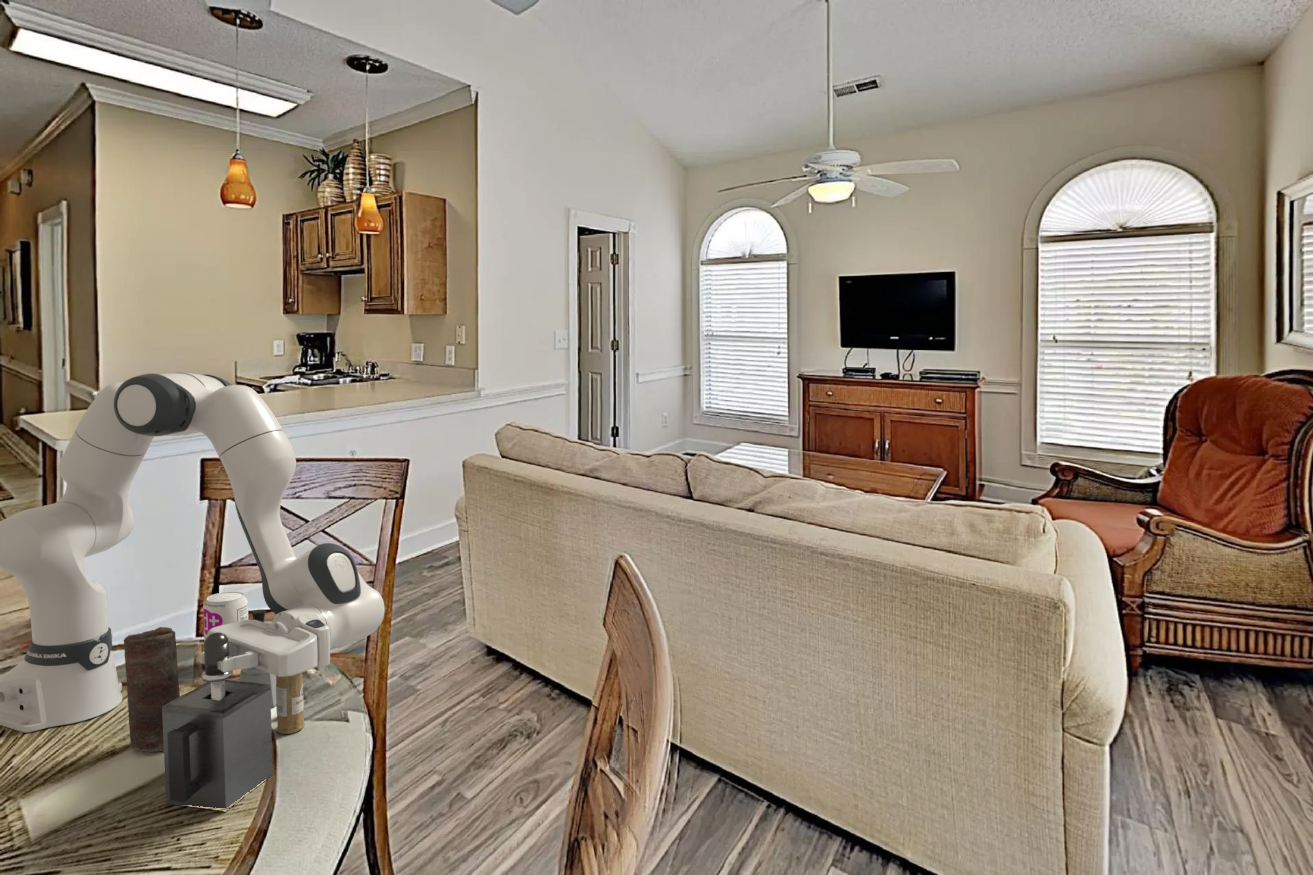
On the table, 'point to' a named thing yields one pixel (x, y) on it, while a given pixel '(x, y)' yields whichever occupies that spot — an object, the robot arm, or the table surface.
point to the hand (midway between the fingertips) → (211, 663)
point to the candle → (150, 684)
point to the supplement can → (224, 610)
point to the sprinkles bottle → (289, 703)
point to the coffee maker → (257, 674)
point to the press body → (217, 744)
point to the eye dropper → (213, 651)
